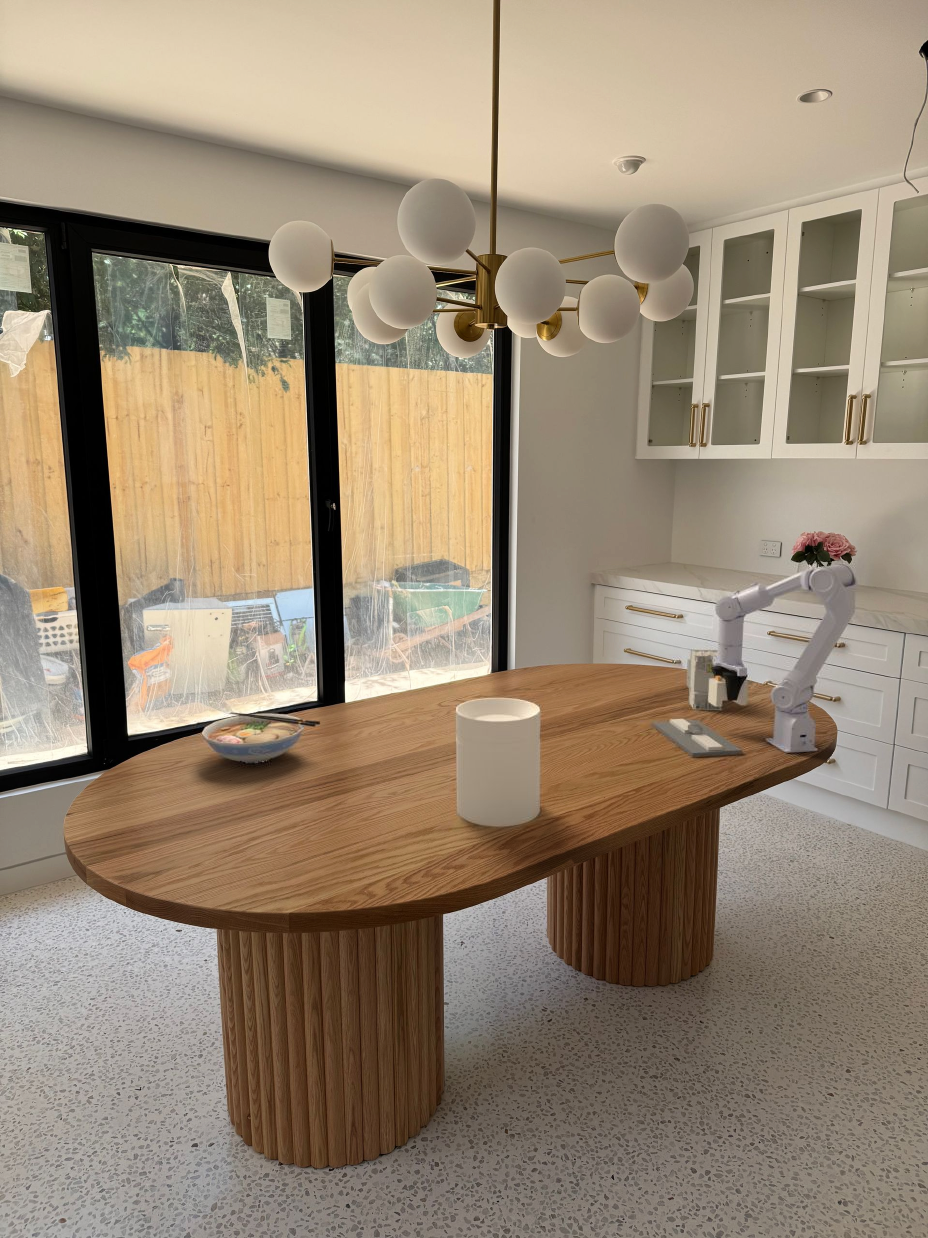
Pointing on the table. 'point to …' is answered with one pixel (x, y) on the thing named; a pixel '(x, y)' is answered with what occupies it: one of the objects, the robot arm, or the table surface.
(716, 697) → the block
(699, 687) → the circuit breaker
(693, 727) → the block
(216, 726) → the ramen bowl
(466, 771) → the canister
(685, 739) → the din board
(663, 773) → the table surface
